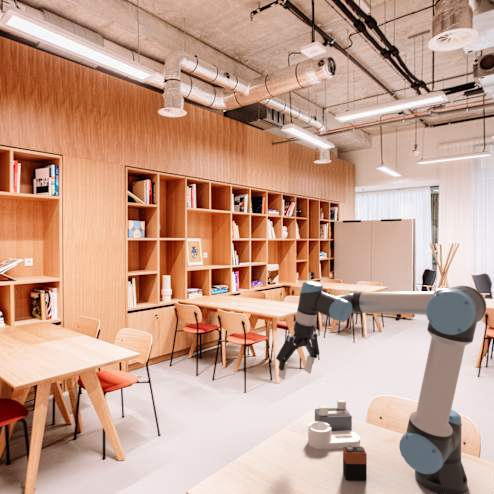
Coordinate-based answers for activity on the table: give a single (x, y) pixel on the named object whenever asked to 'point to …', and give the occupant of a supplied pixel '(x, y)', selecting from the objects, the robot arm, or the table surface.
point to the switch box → (336, 419)
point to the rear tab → (341, 404)
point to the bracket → (330, 437)
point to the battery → (354, 463)
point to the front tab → (323, 410)
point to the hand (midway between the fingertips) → (294, 374)
